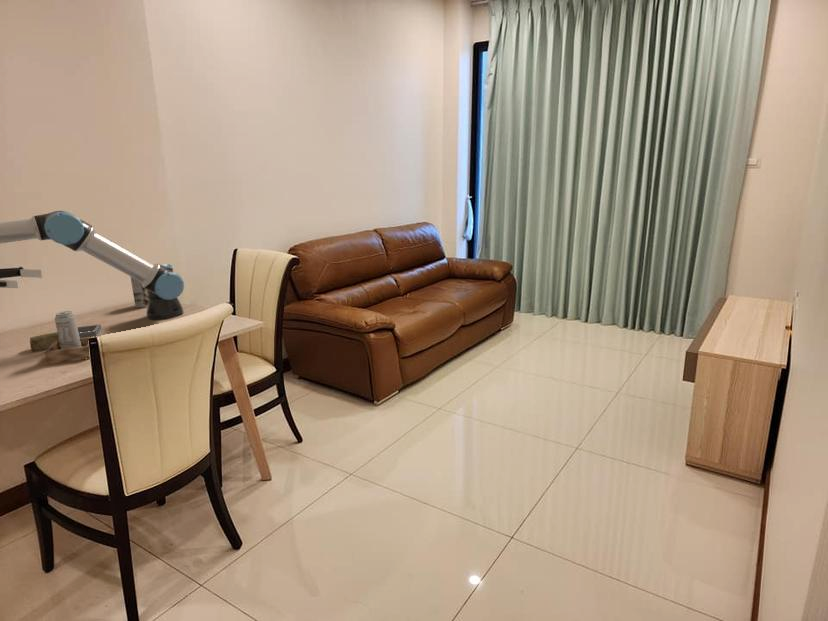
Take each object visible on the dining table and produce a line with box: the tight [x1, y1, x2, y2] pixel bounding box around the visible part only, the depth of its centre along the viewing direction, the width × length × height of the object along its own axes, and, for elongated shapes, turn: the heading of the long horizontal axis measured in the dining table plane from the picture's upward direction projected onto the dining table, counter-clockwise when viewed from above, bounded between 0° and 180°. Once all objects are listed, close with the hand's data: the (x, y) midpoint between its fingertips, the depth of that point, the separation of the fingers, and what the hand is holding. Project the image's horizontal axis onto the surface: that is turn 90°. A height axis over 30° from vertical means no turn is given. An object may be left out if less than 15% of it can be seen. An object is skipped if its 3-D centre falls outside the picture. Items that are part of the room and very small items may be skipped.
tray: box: [77, 323, 102, 338], centre depth 211 cm, size 11×11×2 cm
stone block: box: [29, 331, 59, 352], centre depth 198 cm, size 6×12×5 cm, turn 137°
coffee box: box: [129, 276, 149, 309], centre depth 255 cm, size 9×6×16 cm
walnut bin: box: [44, 336, 97, 365], centre depth 187 cm, size 13×13×4 cm
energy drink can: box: [54, 310, 82, 349], centre depth 185 cm, size 6×6×15 cm
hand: (30, 278), depth 181 cm, fingers open, 13 cm apart
